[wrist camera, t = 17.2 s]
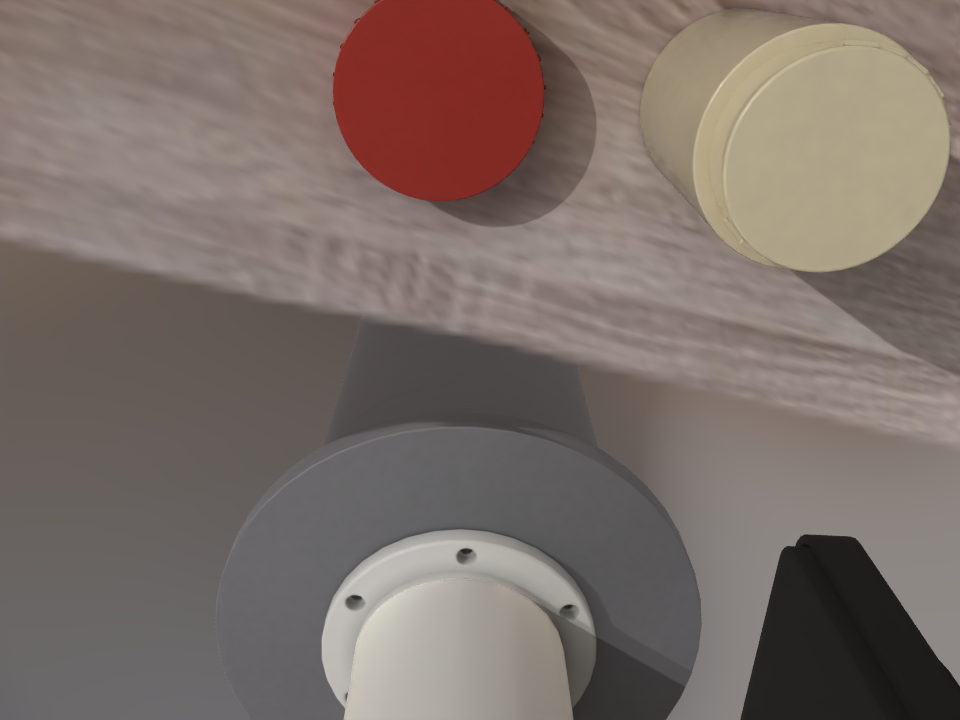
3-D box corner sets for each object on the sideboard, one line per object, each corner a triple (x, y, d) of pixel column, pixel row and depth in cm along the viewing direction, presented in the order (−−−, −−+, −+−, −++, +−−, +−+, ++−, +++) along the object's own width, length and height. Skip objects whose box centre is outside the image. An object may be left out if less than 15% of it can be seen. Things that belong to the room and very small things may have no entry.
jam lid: (337, -27, 29) (330, -27, 27) (550, -14, 29) (555, -12, 28) (338, 185, 32) (331, 197, 30) (533, 196, 32) (536, 208, 30)
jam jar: (805, 205, 32) (929, 294, 24) (628, 194, 32) (688, 281, 23) (845, 14, 30) (1002, 36, 21) (653, 1, 29) (731, 18, 21)
